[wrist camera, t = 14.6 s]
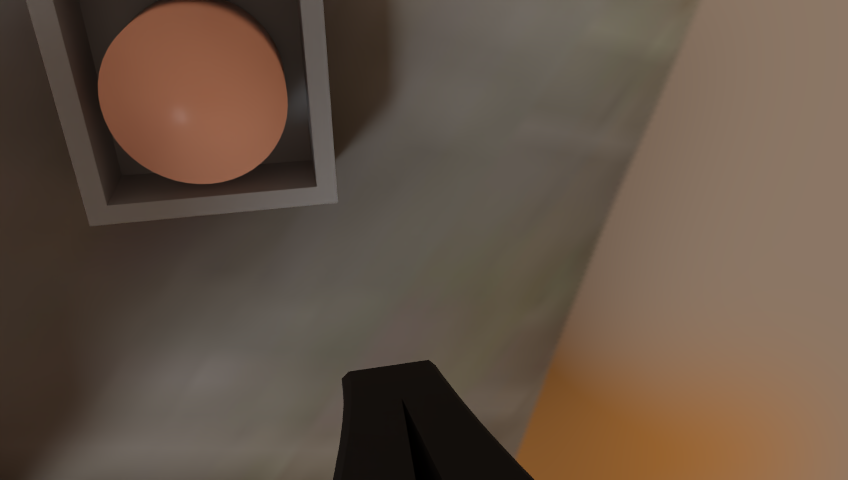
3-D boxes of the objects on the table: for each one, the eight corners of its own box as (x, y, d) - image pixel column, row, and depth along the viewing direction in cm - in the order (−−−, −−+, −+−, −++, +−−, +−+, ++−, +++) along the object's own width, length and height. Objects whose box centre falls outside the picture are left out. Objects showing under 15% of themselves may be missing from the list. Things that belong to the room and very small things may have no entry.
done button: (292, 148, 17) (295, 176, 16) (135, 160, 17) (121, 191, 15) (275, -9, 16) (277, 3, 14) (97, -4, 15) (76, 10, 13)
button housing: (329, 167, 19) (338, 202, 17) (110, 185, 18) (89, 226, 16) (311, -58, 16) (319, -50, 14) (49, -53, 15) (13, -44, 13)
